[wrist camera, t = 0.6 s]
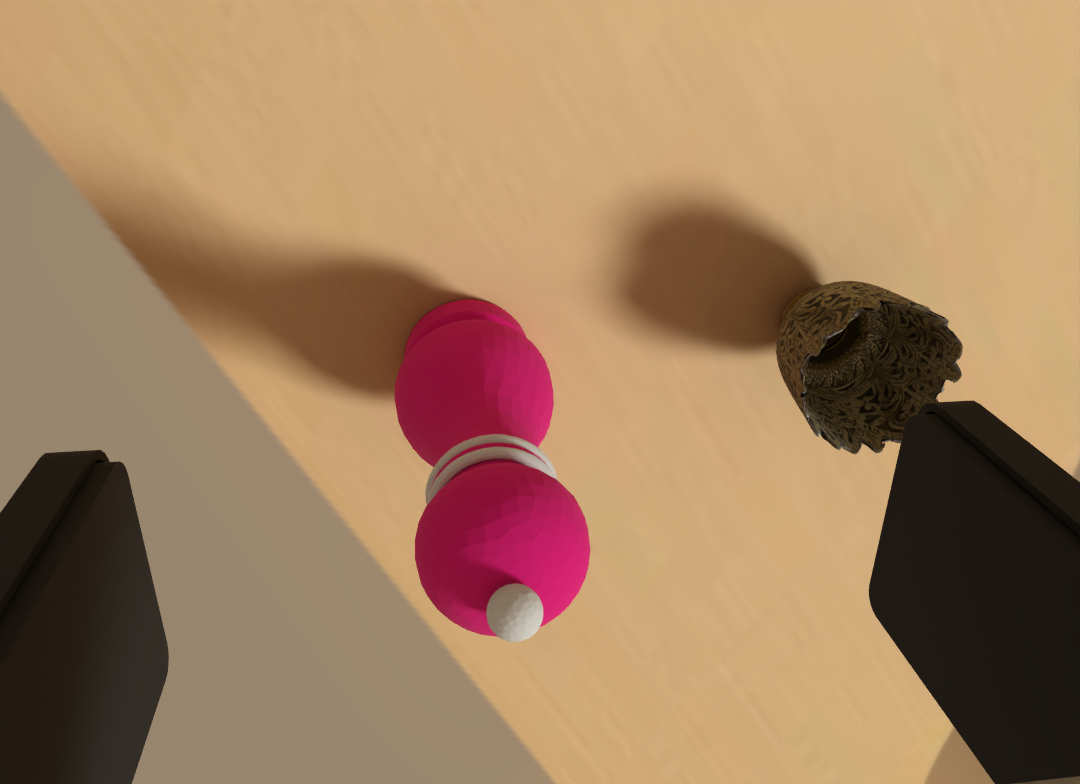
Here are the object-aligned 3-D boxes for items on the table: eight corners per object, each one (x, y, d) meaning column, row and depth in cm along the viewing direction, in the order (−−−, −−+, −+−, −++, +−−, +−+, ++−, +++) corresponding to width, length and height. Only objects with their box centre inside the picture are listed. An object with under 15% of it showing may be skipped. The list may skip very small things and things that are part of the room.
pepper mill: (363, 364, 44) (347, 652, 26) (461, 259, 42) (513, 490, 24) (472, 443, 46) (522, 750, 29) (567, 348, 45) (682, 612, 27)
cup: (776, 231, 44) (850, 287, 37) (900, 266, 46) (993, 325, 39) (720, 364, 47) (779, 440, 40) (839, 391, 49) (915, 468, 41)
